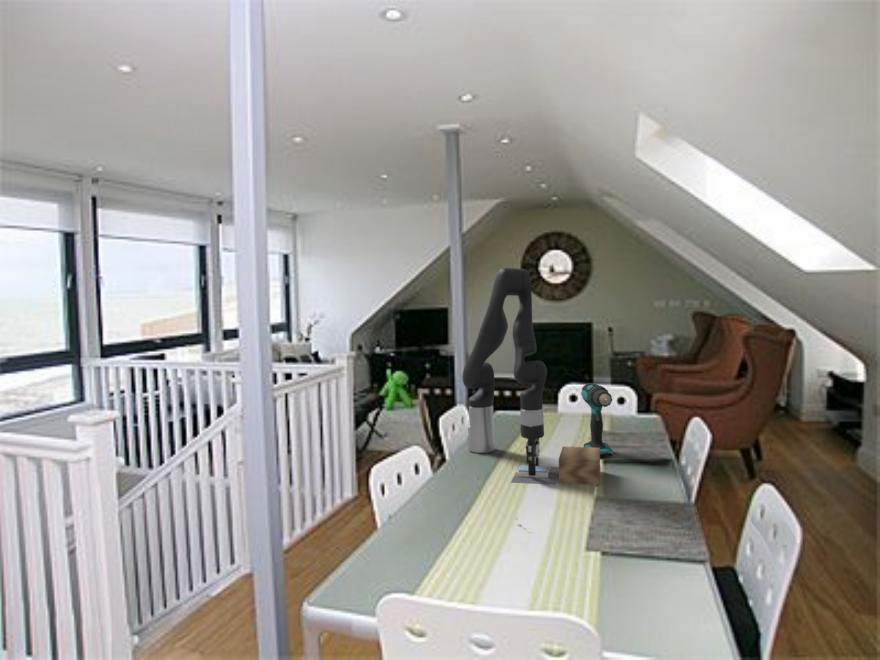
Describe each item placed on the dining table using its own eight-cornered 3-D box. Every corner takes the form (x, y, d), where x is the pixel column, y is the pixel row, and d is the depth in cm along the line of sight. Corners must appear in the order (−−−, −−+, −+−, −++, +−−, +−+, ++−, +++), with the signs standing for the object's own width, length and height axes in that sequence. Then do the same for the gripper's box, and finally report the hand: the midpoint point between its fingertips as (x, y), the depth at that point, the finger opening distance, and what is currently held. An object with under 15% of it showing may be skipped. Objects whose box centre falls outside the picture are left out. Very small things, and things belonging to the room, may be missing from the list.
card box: (516, 476, 202) (516, 470, 202) (519, 470, 208) (519, 464, 207) (547, 477, 199) (547, 471, 199) (550, 472, 205) (549, 466, 205)
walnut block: (559, 483, 194) (558, 458, 194) (563, 469, 208) (562, 446, 207) (599, 485, 191) (598, 460, 190) (600, 471, 204) (599, 447, 204)
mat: (510, 483, 196) (510, 482, 196) (519, 466, 214) (519, 465, 214) (555, 485, 193) (555, 484, 193) (560, 468, 210) (560, 466, 210)
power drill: (621, 464, 210) (620, 391, 208) (595, 465, 211) (593, 392, 209) (603, 443, 236) (601, 379, 234) (579, 444, 237) (577, 380, 235)
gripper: (523, 417, 210) (525, 464, 211) (517, 427, 196) (519, 478, 197) (546, 417, 208) (547, 465, 209) (540, 427, 194) (542, 479, 195)
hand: (533, 471), depth 203 cm, fingers open, 7 cm apart
